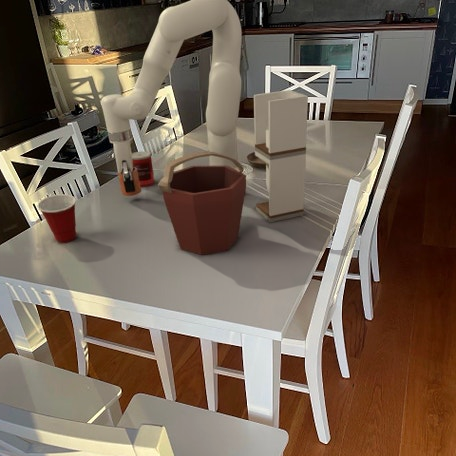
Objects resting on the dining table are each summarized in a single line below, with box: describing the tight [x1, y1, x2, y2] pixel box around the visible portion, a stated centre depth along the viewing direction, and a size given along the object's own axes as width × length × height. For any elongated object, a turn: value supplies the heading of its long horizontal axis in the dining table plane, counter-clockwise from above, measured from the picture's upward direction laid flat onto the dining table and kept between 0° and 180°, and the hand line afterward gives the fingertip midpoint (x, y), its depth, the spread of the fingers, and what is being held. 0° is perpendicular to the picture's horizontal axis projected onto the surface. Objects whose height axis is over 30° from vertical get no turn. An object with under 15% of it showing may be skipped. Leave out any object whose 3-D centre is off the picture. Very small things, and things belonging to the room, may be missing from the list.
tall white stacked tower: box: [253, 89, 309, 223], centre depth 142 cm, size 11×11×35 cm
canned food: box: [132, 150, 155, 188], centre depth 177 cm, size 8×8×11 cm
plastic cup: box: [36, 193, 77, 244], centre depth 140 cm, size 11×11×12 cm
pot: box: [116, 167, 142, 197], centre depth 163 cm, size 7×7×8 cm
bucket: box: [157, 150, 247, 256], centre depth 131 cm, size 24×22×25 cm
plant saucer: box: [246, 151, 266, 169], centre depth 191 cm, size 18×18×3 cm
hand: (130, 187), depth 164 cm, fingers closed on pot, 6 cm apart
